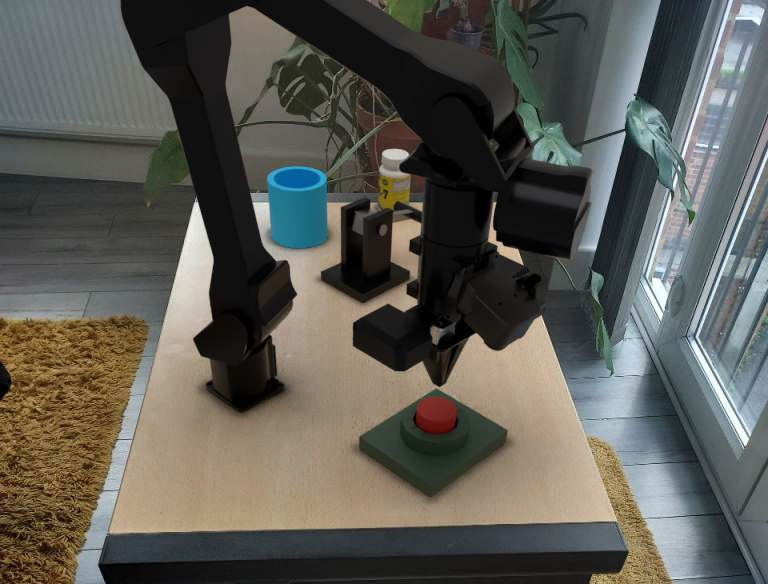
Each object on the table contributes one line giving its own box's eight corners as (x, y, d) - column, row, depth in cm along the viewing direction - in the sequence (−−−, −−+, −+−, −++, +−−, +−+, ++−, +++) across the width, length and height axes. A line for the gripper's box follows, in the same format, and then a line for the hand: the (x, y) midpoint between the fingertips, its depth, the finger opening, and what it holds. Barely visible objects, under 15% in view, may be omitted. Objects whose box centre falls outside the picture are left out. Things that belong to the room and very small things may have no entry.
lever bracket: (368, 257, 110) (369, 188, 103) (410, 279, 106) (414, 208, 99) (320, 279, 105) (318, 208, 98) (362, 303, 102) (364, 230, 95)
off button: (437, 440, 78) (438, 426, 77) (407, 422, 80) (408, 408, 79) (463, 422, 80) (464, 409, 79) (433, 405, 82) (435, 391, 81)
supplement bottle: (373, 205, 122) (374, 149, 116) (401, 201, 123) (404, 145, 117) (384, 218, 119) (386, 161, 113) (413, 214, 120) (416, 158, 114)
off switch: (430, 497, 77) (433, 471, 74) (358, 448, 82) (359, 422, 79) (505, 442, 83) (510, 416, 81) (435, 400, 88) (437, 374, 85)
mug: (331, 246, 112) (330, 189, 106) (274, 250, 111) (270, 192, 105) (320, 209, 120) (318, 154, 114) (266, 211, 119) (262, 156, 113)
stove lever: (398, 214, 108) (401, 196, 107) (431, 229, 106) (434, 211, 104) (341, 224, 101) (343, 206, 100) (374, 241, 99) (377, 222, 97)
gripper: (455, 310, 57) (437, 469, 68) (598, 230, 67) (561, 381, 78) (348, 254, 62) (347, 410, 73) (495, 188, 72) (475, 334, 83)
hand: (438, 384), depth 77 cm, fingers closed
